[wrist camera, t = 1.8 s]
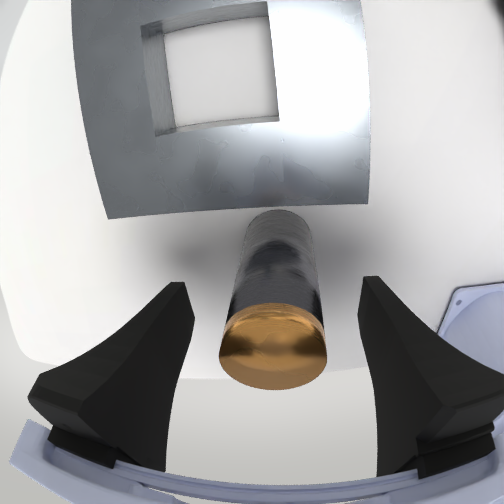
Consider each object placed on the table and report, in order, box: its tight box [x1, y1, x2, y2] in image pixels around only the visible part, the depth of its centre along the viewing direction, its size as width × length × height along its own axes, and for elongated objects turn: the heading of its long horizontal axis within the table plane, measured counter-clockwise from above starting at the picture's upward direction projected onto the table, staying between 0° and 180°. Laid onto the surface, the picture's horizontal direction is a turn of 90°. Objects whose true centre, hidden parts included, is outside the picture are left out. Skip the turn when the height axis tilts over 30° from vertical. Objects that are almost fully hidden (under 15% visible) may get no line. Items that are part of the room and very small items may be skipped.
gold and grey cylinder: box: [219, 210, 327, 390], centre depth 12 cm, size 4×4×8 cm
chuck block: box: [71, 0, 370, 219], centre depth 10 cm, size 12×12×2 cm
